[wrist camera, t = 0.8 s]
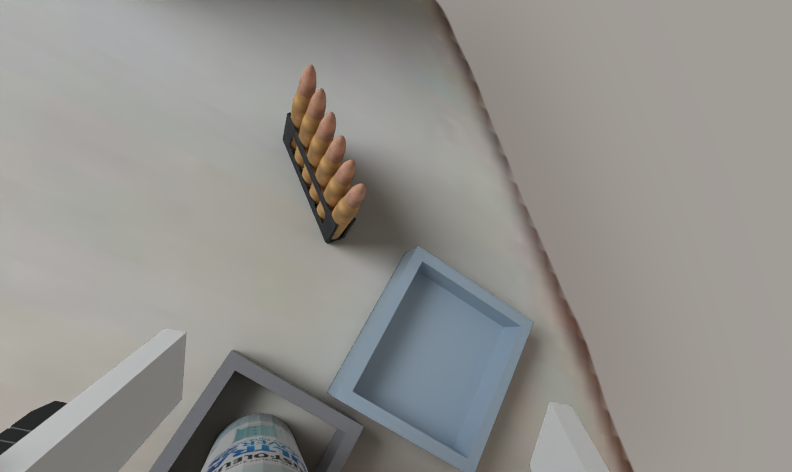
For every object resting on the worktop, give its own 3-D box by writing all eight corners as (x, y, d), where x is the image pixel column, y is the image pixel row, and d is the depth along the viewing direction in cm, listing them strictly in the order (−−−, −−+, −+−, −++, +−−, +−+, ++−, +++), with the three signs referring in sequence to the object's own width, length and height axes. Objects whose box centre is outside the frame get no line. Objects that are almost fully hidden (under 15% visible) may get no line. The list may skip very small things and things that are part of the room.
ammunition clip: (344, 237, 37) (381, 194, 26) (326, 244, 37) (355, 203, 26) (301, 133, 38) (319, 50, 27) (282, 138, 38) (292, 55, 27)
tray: (404, 253, 39) (418, 245, 36) (511, 323, 41) (533, 322, 38) (326, 392, 34) (334, 397, 31) (453, 465, 36) (472, 477, 32)
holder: (233, 349, 32) (231, 350, 30) (355, 419, 34) (363, 426, 31) (131, 500, 28) (117, 518, 25) (275, 572, 30) (277, 596, 27)
